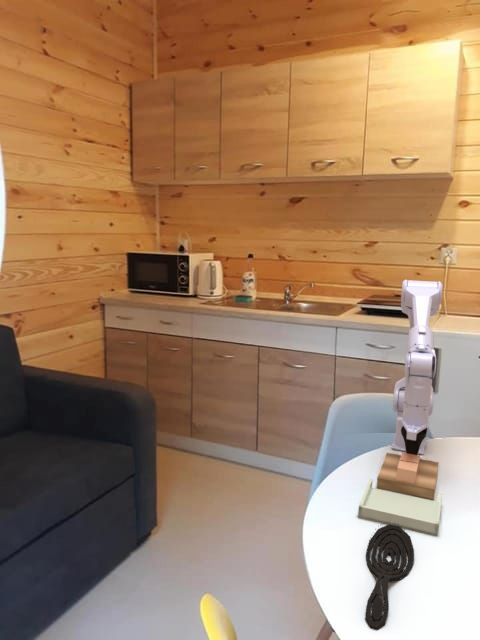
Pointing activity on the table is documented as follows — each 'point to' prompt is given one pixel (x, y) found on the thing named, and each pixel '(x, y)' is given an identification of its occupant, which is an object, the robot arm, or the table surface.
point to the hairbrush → (386, 568)
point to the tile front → (407, 472)
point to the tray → (400, 510)
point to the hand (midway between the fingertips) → (411, 457)
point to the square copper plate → (419, 489)
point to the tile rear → (410, 458)
